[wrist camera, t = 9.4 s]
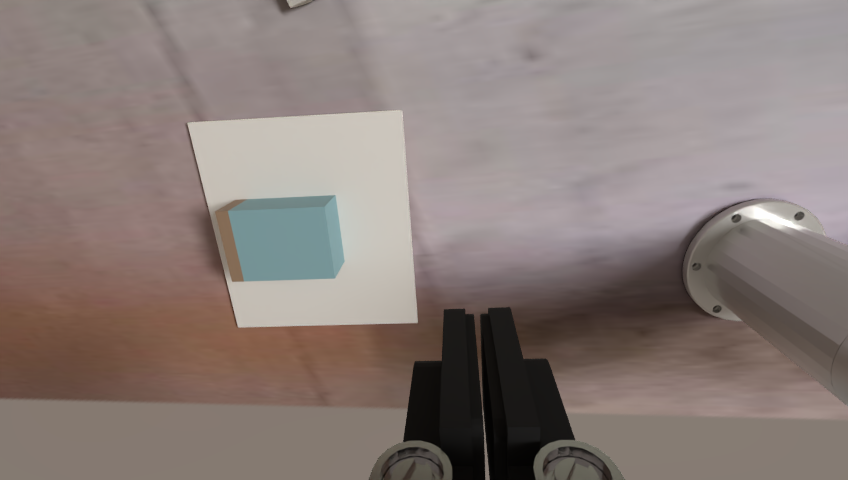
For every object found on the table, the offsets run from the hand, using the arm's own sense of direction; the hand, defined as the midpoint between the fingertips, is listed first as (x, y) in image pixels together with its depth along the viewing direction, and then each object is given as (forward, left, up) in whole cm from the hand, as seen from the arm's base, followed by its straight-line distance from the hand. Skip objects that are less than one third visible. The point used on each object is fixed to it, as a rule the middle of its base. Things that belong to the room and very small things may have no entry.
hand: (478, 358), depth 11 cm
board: (+15, +7, -31) cm, 35 cm away
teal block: (+12, +7, -28) cm, 31 cm away
